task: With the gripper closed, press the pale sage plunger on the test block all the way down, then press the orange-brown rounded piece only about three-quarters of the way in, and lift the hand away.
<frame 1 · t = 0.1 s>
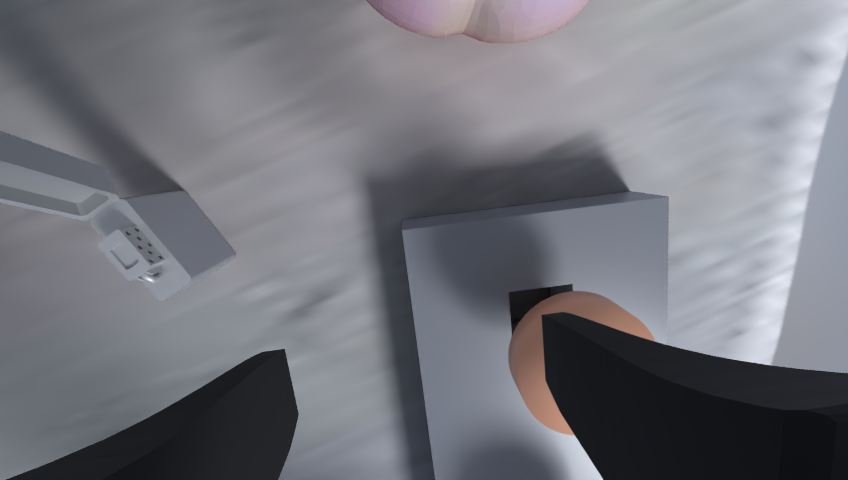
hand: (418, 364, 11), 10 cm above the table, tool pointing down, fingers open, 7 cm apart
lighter: (180, 207, 20), on the table
test block: (530, 393, 22), on the table
orange-brown rounded piece: (565, 344, 16), point 6 cm above the table, slide at 0.0 cm
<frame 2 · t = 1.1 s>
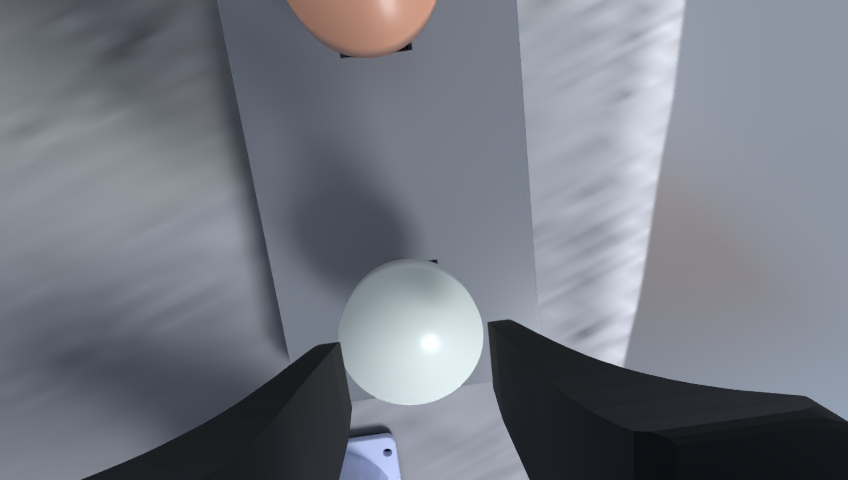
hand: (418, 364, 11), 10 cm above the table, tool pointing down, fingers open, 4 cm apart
sage plunger: (410, 315, 15), point 6 cm above the table, slide at 0.0 cm
test block: (393, 164, 20), on the table
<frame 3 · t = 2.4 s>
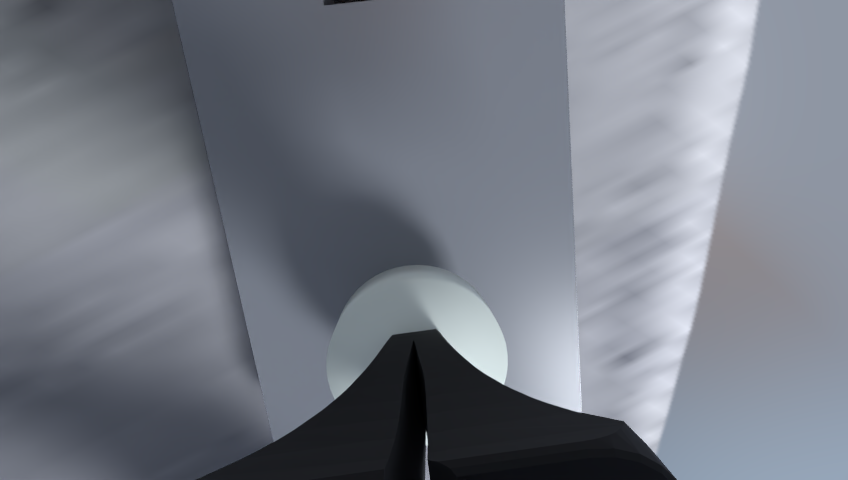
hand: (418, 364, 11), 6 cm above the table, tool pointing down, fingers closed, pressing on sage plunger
sage plunger: (415, 332, 13), point 4 cm above the table, slide at 1.3 cm, touching gripper
test block: (394, 150, 16), on the table
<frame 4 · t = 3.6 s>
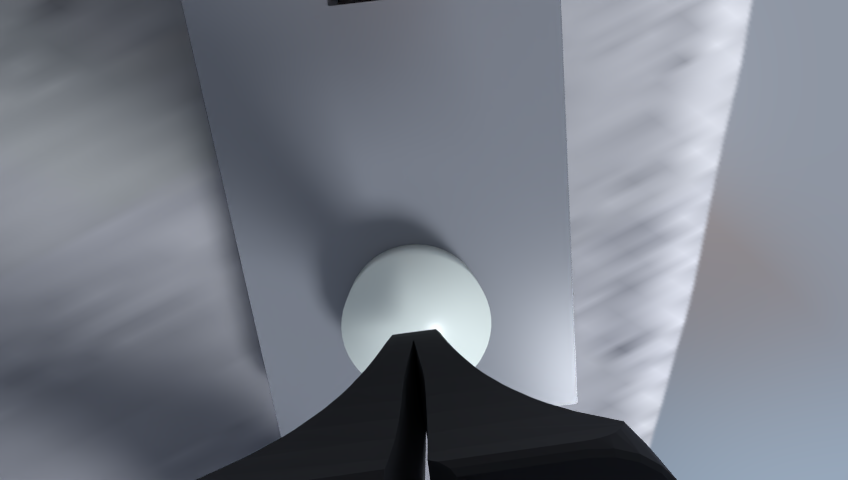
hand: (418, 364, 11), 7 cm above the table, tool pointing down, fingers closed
sage plunger: (415, 303, 15), point 3 cm above the table, slide at 3.1 cm
test block: (396, 147, 16), on the table
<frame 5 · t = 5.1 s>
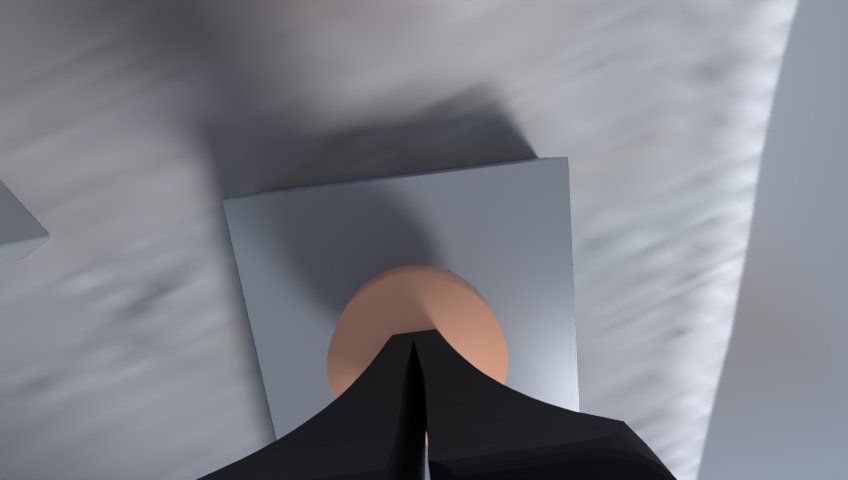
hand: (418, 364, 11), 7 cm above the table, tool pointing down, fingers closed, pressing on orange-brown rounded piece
test block: (429, 406, 19), on the table
orange-brown rounded piece: (416, 332, 13), point 5 cm above the table, slide at 1.0 cm, touching gripper
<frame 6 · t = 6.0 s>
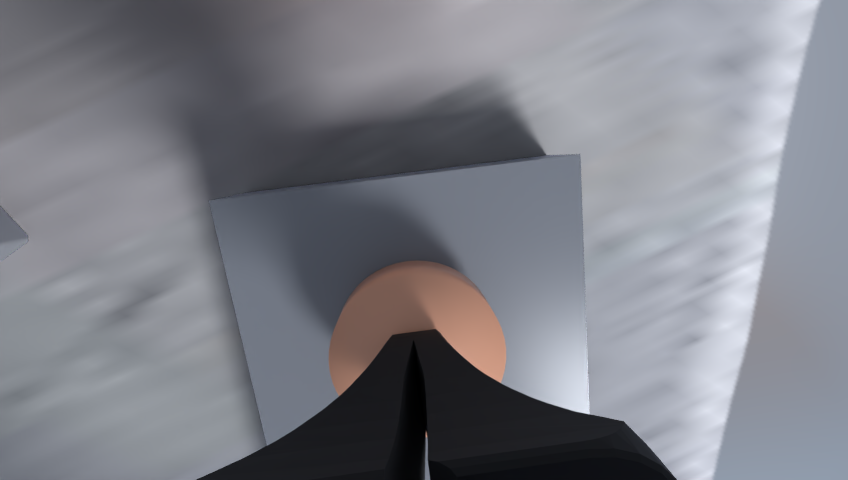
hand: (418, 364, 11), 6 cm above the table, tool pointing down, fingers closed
test block: (430, 416, 18), on the table
orange-brown rounded piece: (416, 327, 13), point 3 cm above the table, slide at 2.2 cm
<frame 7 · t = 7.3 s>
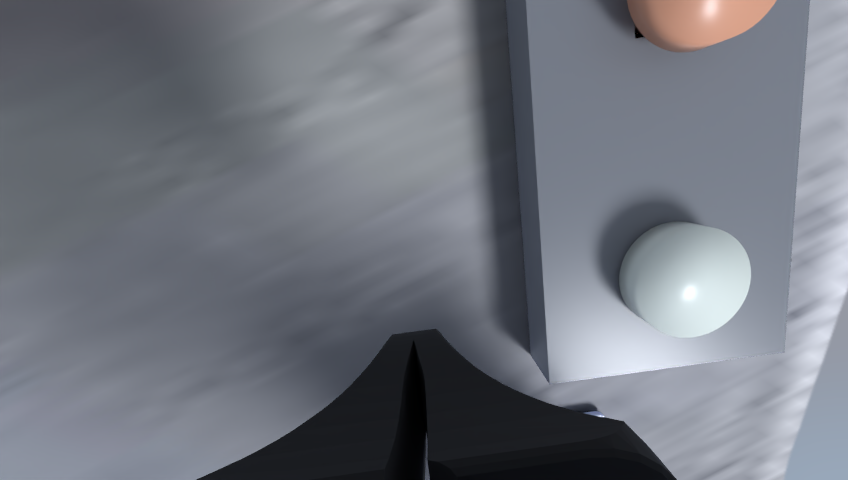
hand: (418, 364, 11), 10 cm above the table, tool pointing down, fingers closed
sage plunger: (662, 270, 19), point 3 cm above the table, slide at 3.1 cm
test block: (630, 146, 20), on the table
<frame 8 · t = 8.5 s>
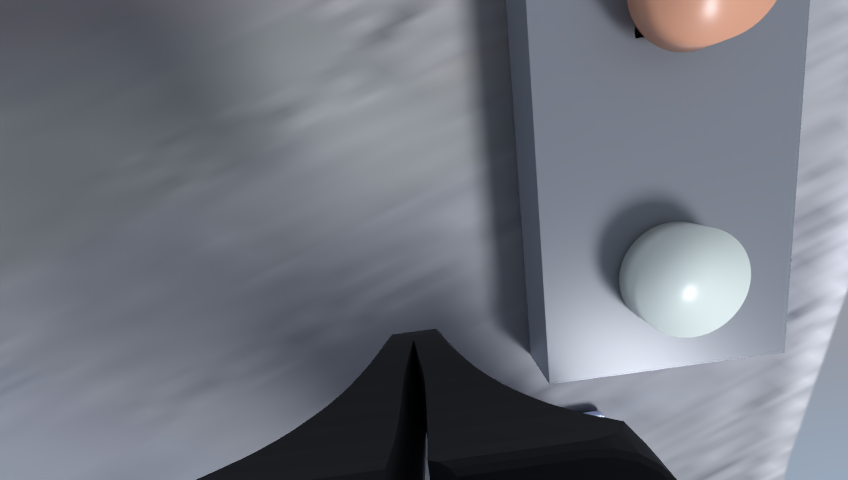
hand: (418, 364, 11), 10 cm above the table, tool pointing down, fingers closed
sage plunger: (662, 270, 19), point 3 cm above the table, slide at 3.1 cm
test block: (630, 146, 20), on the table
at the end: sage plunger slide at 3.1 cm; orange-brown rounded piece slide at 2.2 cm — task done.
